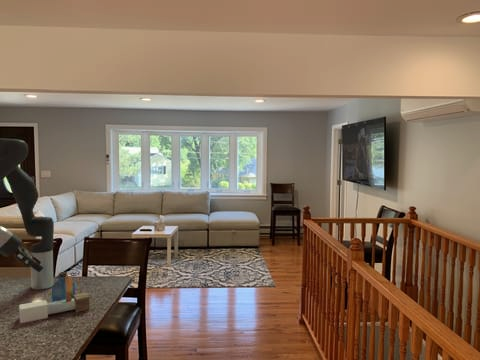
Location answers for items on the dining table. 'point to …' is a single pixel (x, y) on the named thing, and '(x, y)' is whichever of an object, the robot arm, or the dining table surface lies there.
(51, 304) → the grey bar with post
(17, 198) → the robot arm
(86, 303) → the socket block
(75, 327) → the dining table surface
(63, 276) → the perfume bottle
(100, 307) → the dining table surface
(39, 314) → the pale white block
